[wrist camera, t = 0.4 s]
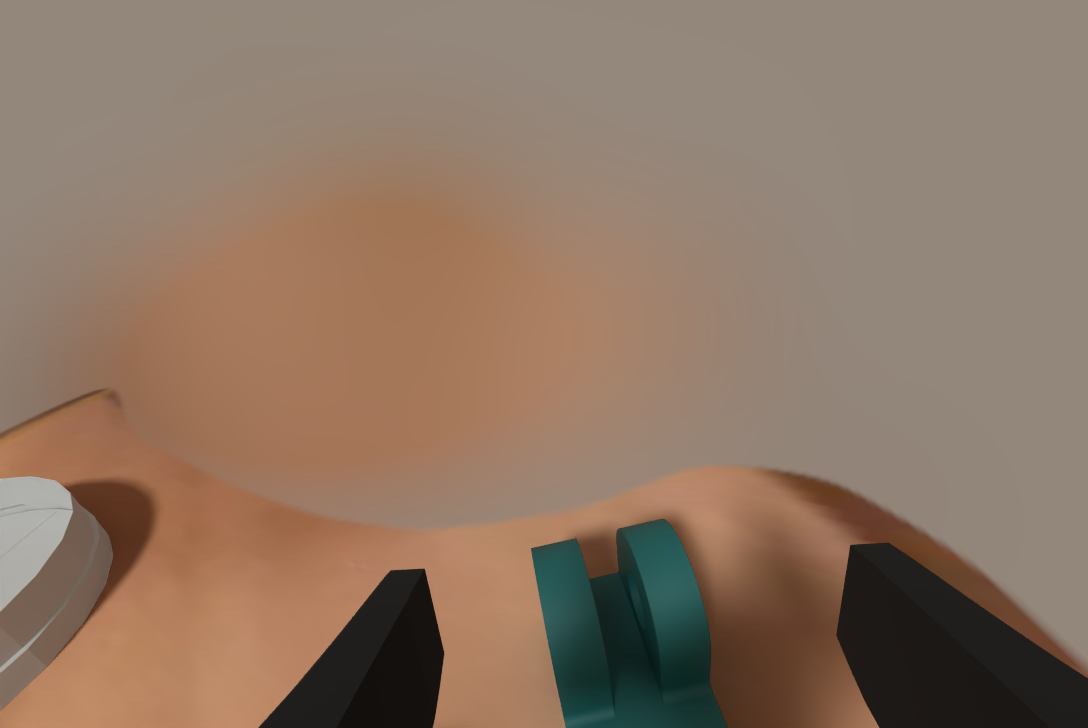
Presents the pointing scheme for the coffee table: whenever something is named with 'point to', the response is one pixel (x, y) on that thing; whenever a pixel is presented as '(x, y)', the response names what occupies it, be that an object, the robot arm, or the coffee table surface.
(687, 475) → the coffee table surface
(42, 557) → the dish
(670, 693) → the bracket
